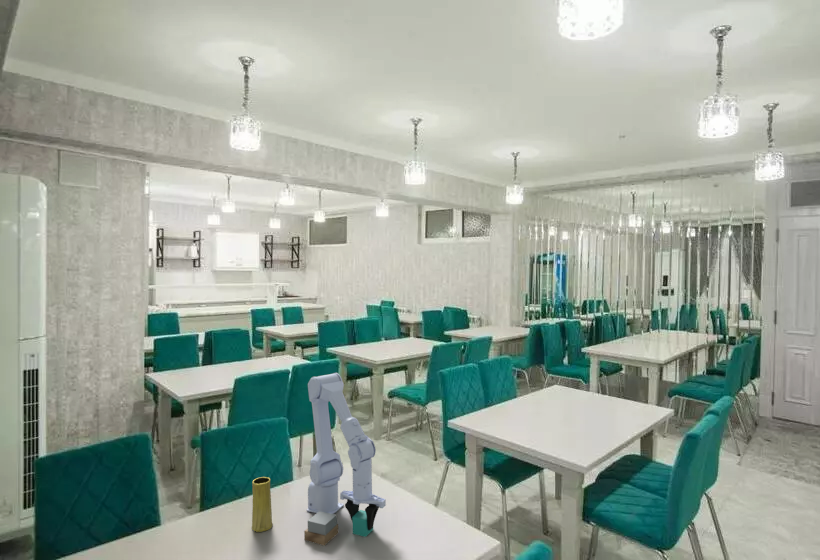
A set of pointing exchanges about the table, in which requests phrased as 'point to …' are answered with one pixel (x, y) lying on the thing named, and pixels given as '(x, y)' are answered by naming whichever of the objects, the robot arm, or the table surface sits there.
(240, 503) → the table surface
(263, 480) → the vase
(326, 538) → the walnut slab
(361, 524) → the teal block
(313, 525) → the slate slab
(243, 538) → the table surface
